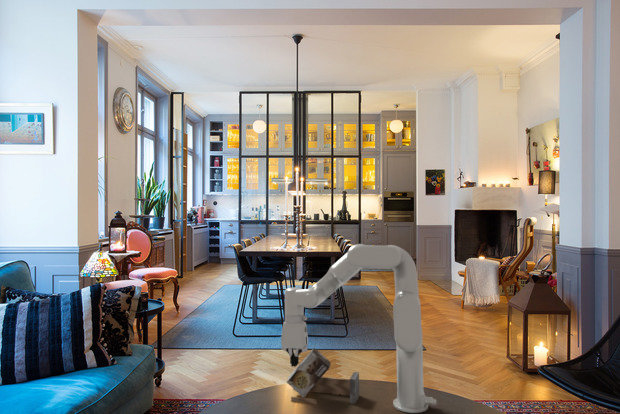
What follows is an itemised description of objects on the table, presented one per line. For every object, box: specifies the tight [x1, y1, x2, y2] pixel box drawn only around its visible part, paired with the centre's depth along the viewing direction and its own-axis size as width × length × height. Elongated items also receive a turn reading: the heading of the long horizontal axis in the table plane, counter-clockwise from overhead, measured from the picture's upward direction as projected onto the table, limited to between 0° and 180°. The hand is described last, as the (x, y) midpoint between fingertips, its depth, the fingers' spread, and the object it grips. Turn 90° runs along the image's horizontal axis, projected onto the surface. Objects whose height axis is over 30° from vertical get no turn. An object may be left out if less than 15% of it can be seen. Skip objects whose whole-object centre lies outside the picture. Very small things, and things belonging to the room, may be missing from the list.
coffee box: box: [286, 347, 332, 398], centre depth 166 cm, size 9×6×16 cm
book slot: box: [290, 371, 360, 405], centre depth 163 cm, size 27×13×9 cm, turn 73°
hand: (294, 365), depth 166 cm, fingers closed
